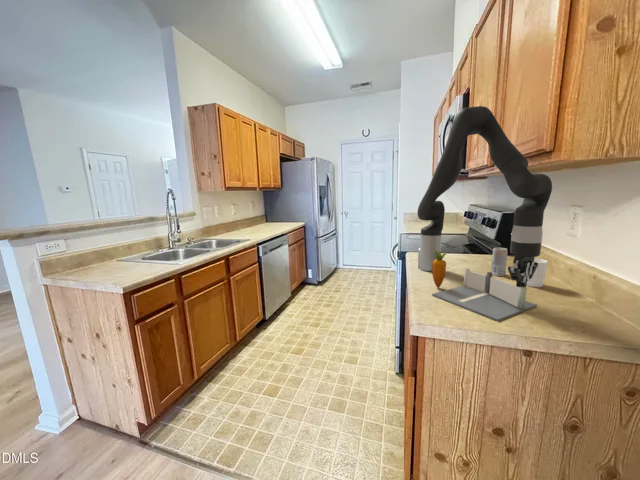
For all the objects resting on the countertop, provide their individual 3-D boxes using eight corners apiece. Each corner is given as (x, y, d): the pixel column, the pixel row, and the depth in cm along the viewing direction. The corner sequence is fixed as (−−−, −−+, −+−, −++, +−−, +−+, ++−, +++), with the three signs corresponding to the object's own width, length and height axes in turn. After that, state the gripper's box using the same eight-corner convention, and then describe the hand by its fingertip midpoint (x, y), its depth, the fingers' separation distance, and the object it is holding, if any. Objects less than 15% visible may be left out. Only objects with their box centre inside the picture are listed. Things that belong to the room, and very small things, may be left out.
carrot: (447, 288, 103) (449, 250, 100) (439, 290, 100) (441, 252, 98) (436, 284, 107) (438, 248, 105) (428, 287, 105) (430, 250, 102)
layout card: (432, 295, 96) (432, 293, 96) (469, 285, 105) (469, 283, 105) (497, 321, 76) (497, 319, 76) (536, 306, 85) (536, 304, 85)
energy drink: (500, 272, 120) (503, 247, 118) (508, 276, 115) (510, 249, 113) (488, 272, 120) (490, 247, 118) (495, 276, 115) (497, 249, 113)
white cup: (514, 282, 107) (516, 258, 105) (528, 280, 109) (531, 256, 107) (535, 289, 99) (538, 263, 98) (549, 286, 102) (552, 261, 100)
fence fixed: (462, 286, 103) (463, 266, 102) (465, 285, 104) (466, 266, 103) (488, 294, 94) (490, 273, 93) (491, 293, 95) (493, 272, 93)
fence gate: (488, 293, 94) (490, 275, 93) (493, 293, 94) (494, 275, 93) (520, 309, 81) (522, 288, 80) (526, 308, 81) (528, 288, 80)
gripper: (524, 235, 88) (519, 285, 91) (500, 240, 82) (496, 292, 85) (551, 239, 81) (545, 292, 84) (528, 244, 75) (521, 300, 79)
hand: (520, 292), depth 85 cm, fingers closed
